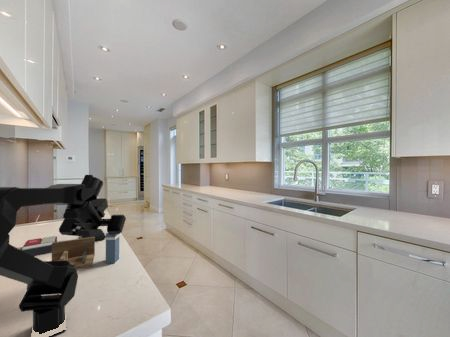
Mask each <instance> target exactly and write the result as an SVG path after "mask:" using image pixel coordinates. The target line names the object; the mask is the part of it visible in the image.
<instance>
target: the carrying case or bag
mask: <svg viewBox="0 0 450 337" xmlns="http://www.w3.org/2000/svg"><path fill="white" fill-rule="evenodd" d="M89 233H90V236H89V237H95V243H96V242H101V241H104V240H106V233H105V232H104V231H103V230H102V228H98V229H97V231H89ZM81 238H88V237H83V236H81Z"/></svg>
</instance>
